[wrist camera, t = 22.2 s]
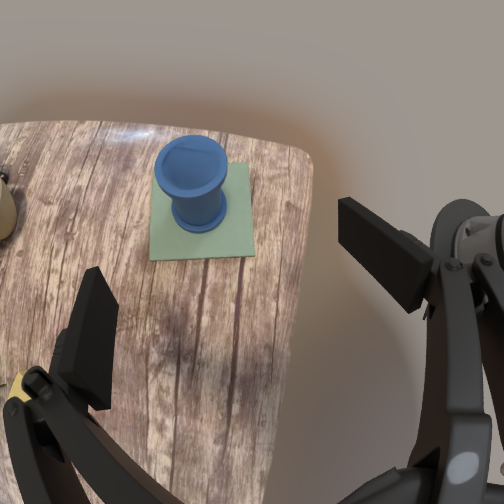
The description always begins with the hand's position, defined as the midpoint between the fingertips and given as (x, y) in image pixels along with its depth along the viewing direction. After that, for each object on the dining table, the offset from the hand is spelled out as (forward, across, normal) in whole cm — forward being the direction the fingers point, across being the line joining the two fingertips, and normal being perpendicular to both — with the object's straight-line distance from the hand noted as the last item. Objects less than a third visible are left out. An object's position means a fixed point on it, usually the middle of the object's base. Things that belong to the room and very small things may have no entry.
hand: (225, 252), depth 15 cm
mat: (+20, 0, -6) cm, 20 cm away
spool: (+19, 0, -5) cm, 20 cm away
